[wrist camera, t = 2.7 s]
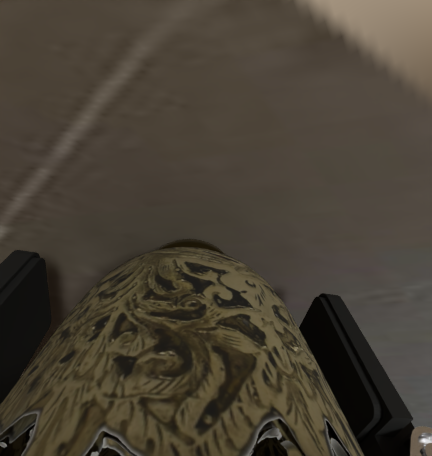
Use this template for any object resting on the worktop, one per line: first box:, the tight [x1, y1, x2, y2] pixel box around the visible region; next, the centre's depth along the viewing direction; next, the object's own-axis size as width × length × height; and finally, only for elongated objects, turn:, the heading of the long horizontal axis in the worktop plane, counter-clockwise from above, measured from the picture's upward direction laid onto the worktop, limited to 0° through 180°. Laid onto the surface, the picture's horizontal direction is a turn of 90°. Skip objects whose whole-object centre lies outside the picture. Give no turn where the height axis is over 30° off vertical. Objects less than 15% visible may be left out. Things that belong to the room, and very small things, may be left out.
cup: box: [0, 239, 364, 456], centre depth 8 cm, size 7×7×8 cm
